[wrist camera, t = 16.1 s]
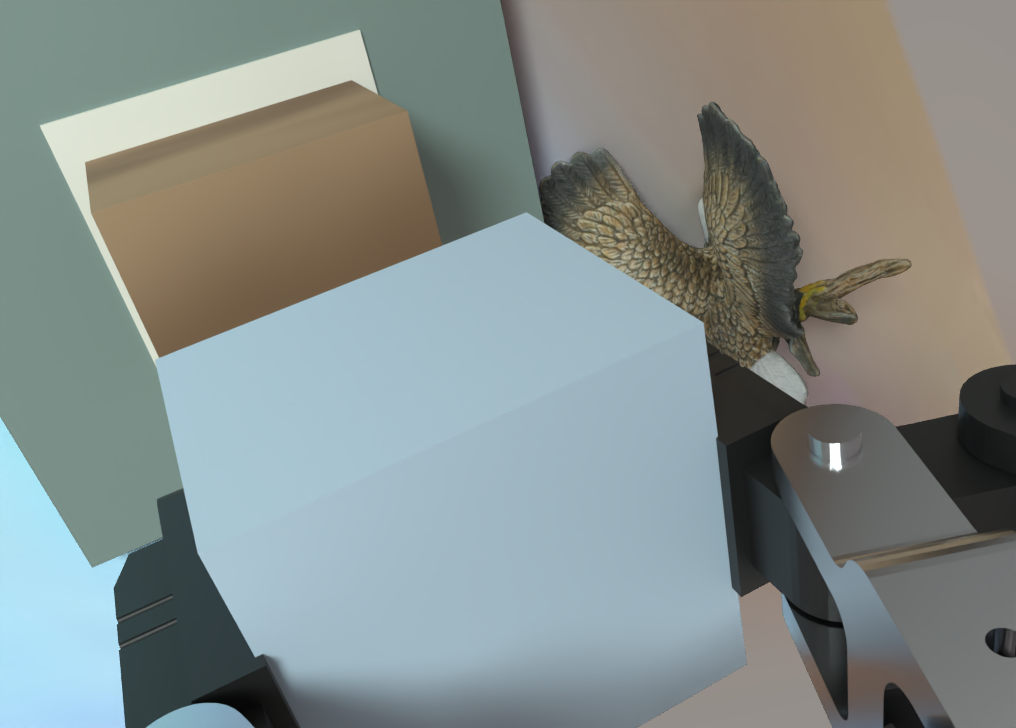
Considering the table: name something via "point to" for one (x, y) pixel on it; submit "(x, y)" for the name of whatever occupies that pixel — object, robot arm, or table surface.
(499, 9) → the board
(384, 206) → the walnut brick
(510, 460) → the blue-grey brick
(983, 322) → the table surface
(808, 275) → the table surface
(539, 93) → the table surface
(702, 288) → the eagle figurine
